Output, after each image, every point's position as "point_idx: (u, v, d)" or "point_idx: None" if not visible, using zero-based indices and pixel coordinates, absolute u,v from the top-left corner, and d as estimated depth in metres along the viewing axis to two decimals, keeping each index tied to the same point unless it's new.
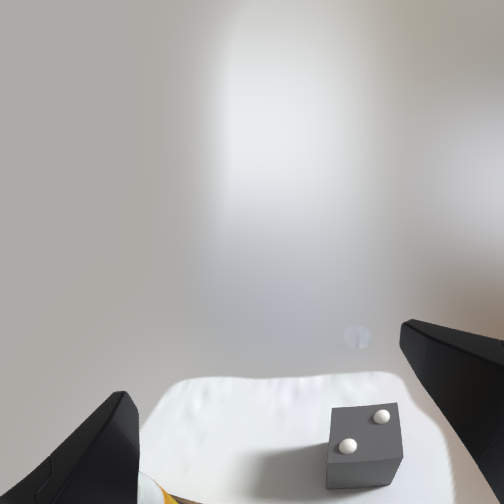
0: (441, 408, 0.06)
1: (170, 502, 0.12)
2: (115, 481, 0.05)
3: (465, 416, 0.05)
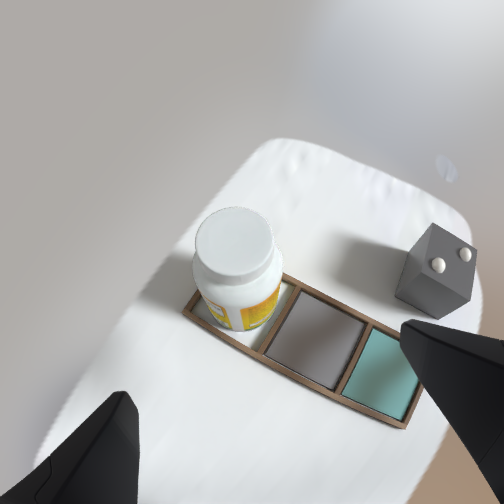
0: (441, 408, 0.06)
1: None
2: (115, 481, 0.05)
3: (465, 416, 0.05)
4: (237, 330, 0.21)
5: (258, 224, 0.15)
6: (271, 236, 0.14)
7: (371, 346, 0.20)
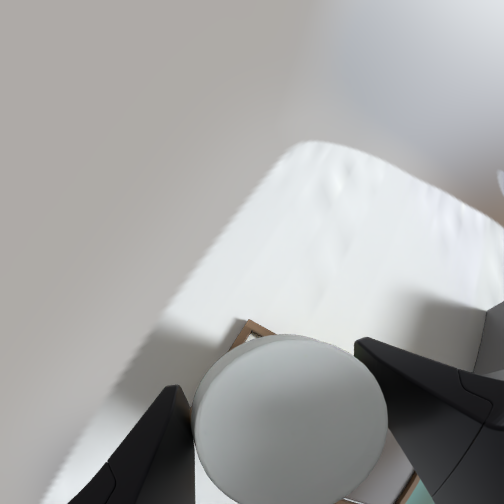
0: (394, 434, 0.06)
1: None
2: (178, 481, 0.05)
3: (416, 446, 0.05)
4: None
5: (355, 390, 0.05)
6: (384, 417, 0.05)
7: None
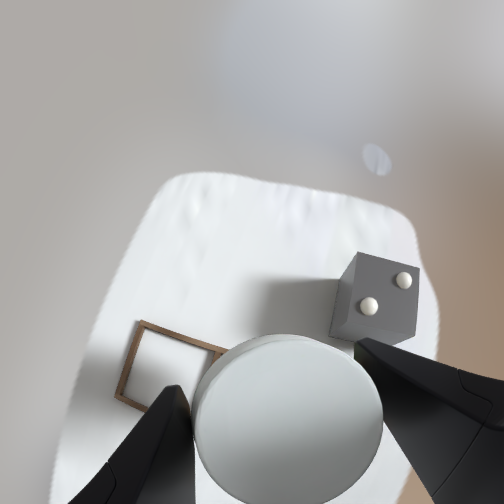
0: (394, 434, 0.06)
1: None
2: (178, 481, 0.05)
3: (416, 447, 0.05)
4: None
5: (351, 389, 0.05)
6: (379, 416, 0.05)
7: None
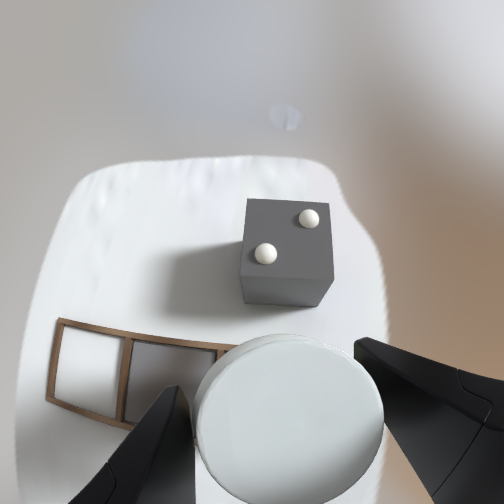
0: (393, 434, 0.06)
1: None
2: (178, 481, 0.05)
3: (416, 447, 0.05)
4: None
5: (351, 389, 0.05)
6: (380, 416, 0.05)
7: None
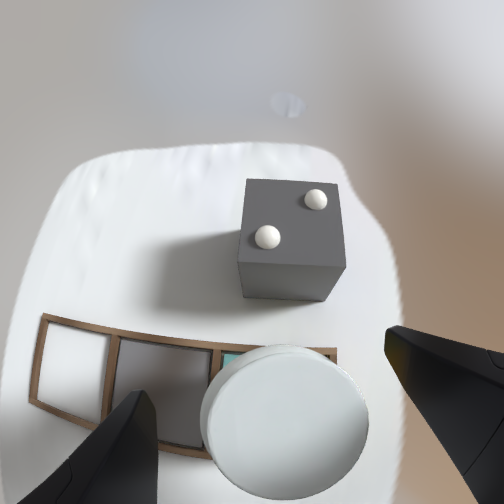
0: (425, 417, 0.06)
1: None
2: (136, 482, 0.05)
3: (449, 427, 0.05)
4: None
5: (339, 396, 0.06)
6: (365, 419, 0.06)
7: None
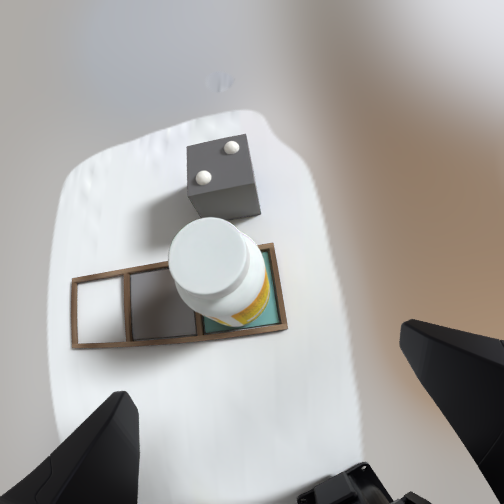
0: (441, 408, 0.06)
1: None
2: (115, 481, 0.05)
3: (465, 416, 0.05)
4: (237, 326, 0.21)
5: (226, 233, 0.14)
6: (242, 243, 0.14)
7: None
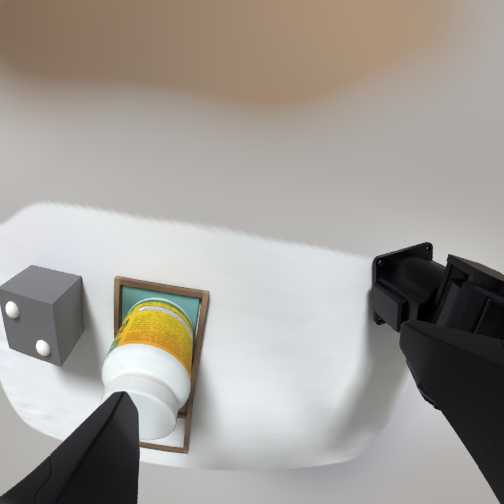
0: (441, 408, 0.06)
1: (143, 333, 0.15)
2: (115, 481, 0.05)
3: (465, 416, 0.05)
4: None
5: None
6: (131, 392, 0.11)
7: None
